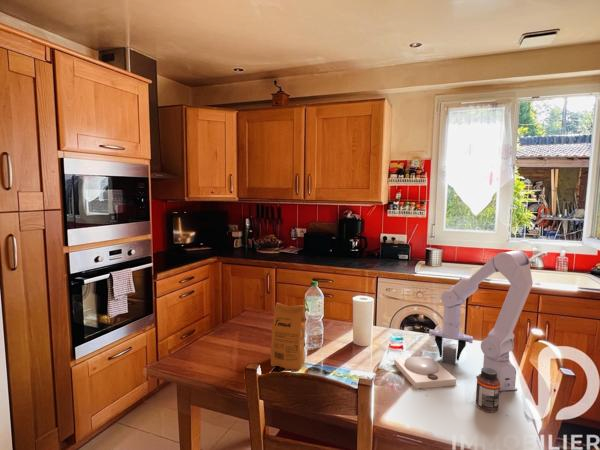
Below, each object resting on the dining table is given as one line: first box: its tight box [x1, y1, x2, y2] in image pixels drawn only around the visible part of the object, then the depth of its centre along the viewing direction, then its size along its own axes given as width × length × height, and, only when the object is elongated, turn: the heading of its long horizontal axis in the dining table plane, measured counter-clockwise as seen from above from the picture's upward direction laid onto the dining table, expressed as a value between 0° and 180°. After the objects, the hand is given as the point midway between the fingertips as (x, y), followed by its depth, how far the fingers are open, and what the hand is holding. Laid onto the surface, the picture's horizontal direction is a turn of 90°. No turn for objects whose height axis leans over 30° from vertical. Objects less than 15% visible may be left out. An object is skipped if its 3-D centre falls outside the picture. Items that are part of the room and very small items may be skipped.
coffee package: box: [270, 301, 306, 371], centre depth 127 cm, size 10×12×22 cm
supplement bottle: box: [475, 366, 501, 413], centre depth 104 cm, size 6×6×11 cm
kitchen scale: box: [393, 355, 457, 390], centre depth 122 cm, size 16×14×3 cm
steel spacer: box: [441, 342, 458, 366], centre depth 131 cm, size 4×4×6 cm
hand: (449, 357), depth 131 cm, fingers open, 5 cm apart
